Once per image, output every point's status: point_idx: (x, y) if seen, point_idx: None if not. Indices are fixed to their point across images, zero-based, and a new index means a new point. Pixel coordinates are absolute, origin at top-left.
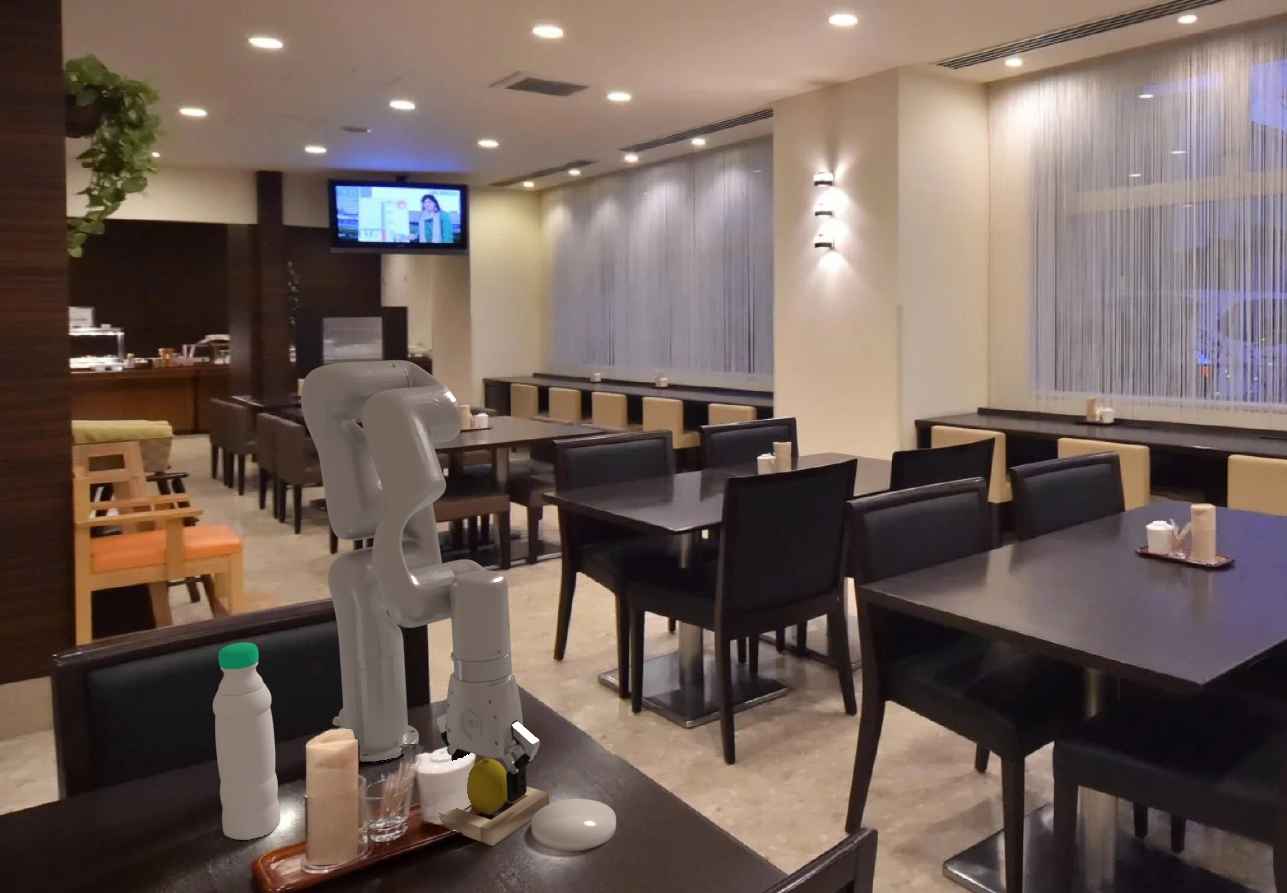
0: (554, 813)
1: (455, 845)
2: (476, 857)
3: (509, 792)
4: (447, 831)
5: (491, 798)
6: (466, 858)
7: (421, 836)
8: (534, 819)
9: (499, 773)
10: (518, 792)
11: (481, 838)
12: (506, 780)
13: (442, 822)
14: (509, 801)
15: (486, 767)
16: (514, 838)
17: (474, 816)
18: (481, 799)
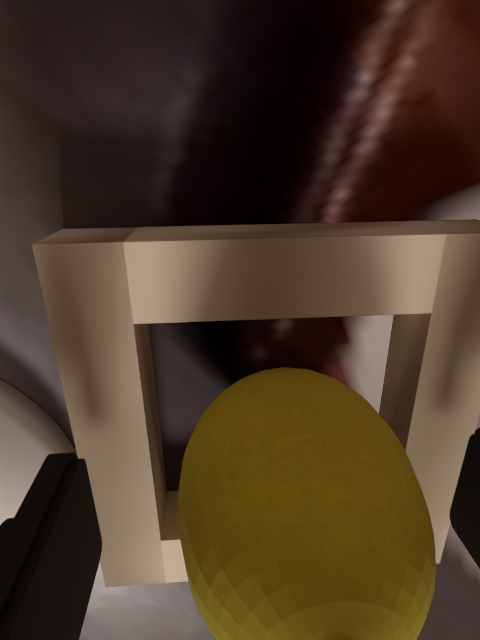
0: (2, 512)
1: (218, 134)
2: (42, 104)
3: (31, 498)
4: (340, 211)
5: (202, 431)
6: (75, 64)
7: (428, 102)
8: (23, 445)
9: (200, 605)
10: (2, 525)
11: (129, 229)
12: (29, 576)
13: (391, 226)
14: (67, 453)
15: (285, 620)
16: (43, 328)
17: (232, 304)
18: (247, 398)
